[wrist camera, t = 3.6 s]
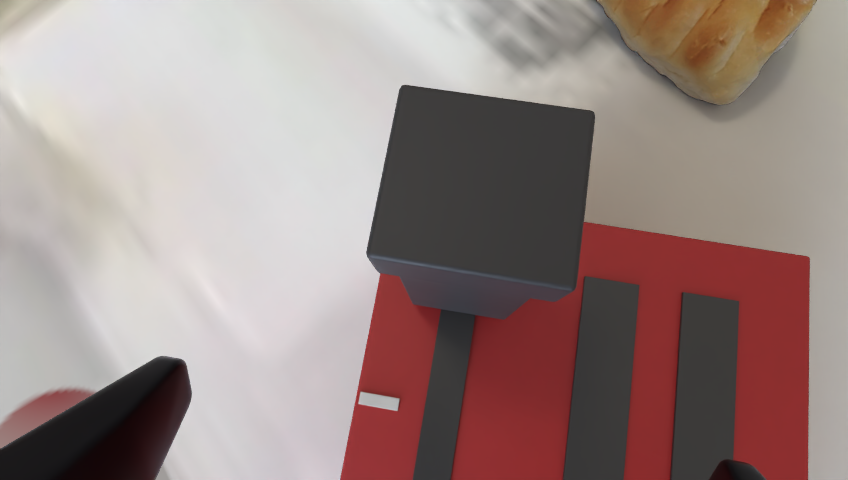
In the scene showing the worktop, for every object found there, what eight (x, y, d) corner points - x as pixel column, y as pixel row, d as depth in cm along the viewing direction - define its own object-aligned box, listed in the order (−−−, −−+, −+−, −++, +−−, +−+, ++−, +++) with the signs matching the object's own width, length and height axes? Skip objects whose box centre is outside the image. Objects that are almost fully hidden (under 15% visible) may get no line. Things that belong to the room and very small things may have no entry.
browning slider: (509, 331, 13) (577, 291, 7) (404, 312, 14) (364, 257, 7) (522, 235, 14) (597, 108, 7) (421, 220, 14) (400, 81, 7)
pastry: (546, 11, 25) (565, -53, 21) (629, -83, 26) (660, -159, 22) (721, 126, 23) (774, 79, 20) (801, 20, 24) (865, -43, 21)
